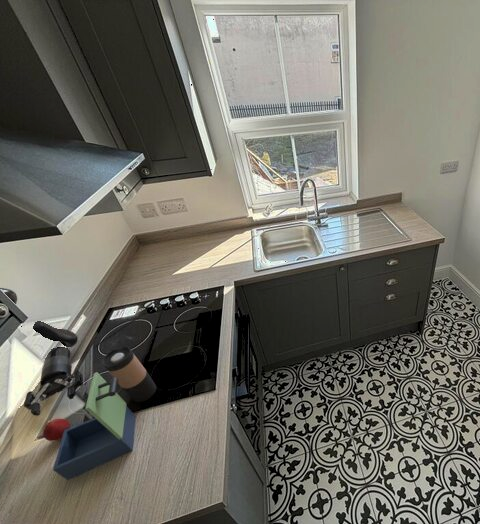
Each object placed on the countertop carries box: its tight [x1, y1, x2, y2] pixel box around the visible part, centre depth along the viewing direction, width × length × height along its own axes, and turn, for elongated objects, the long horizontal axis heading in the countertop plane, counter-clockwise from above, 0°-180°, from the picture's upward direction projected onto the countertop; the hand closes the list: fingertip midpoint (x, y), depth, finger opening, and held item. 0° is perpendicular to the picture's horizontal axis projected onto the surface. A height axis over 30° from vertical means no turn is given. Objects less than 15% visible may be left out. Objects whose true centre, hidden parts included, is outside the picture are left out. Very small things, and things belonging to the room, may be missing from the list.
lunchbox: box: [52, 405, 137, 481], centre depth 86 cm, size 16×12×7 cm
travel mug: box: [101, 346, 157, 403], centre depth 96 cm, size 8×8×20 cm
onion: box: [42, 418, 71, 442], centre depth 89 cm, size 6×6×8 cm
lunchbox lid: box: [85, 371, 127, 439], centre depth 82 cm, size 16×12×5 cm
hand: (53, 405), depth 93 cm, fingers open, 8 cm apart
